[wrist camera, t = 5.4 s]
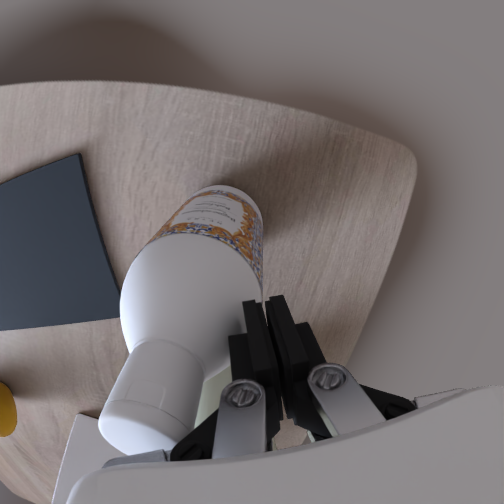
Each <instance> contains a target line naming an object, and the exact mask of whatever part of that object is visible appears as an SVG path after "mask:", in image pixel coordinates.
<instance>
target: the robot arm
mask: <svg viewBox="0 0 504 504" xmlns="http://www.w3.org/2000/svg"><path fill="white" fill-rule="evenodd" d="M269 300H270V301H265V308H266V316H267V323H266V319H265V315H264V311H263V308H262V304H261V302H258V303H256V301H255V299H254V300H248V301H242V306H243V312H244V318H245V324H246V330H247V333H243V334H236V335H230V336H228V342H229V353H230V364H231V374H232V382H231V383H229V384H228V385H226V386H225V388H224V389H223V390H222V393H221V396H220V403H219V408H218V409H217V410H215V411H214V412H213V413H212V414H211V415H210V416H209V417H208V418H206V419H205V420H204V421H203V422H202V423H201V424H200V425H198V426H197V427H196V428H195V429H194V430H193V431H191V432H190V433H189V434H188V435H187V436H186V437H184V438H183V439H182V440H181V441H180V442H178V443H177V444H176V445H175V446H174V447H173V449H172V450H168V451H165V450H164V449H160V450H155V451H150V452H145V453H140V454H135V455H129V456H123V457H117V458H113V459H110V460H108V461H107V462H106V463H105V464H104V465H103V467H102V469H100V470H96V471H94V472H91V473H89V474H87V475H85V476H83V477H82V478H80V479H79V480H78V481H77V482H76V483H75V485H74V487H73V488H72V490H71V492H70V495H69V497H68V500H67V503H66V504H504V387H502V386H484V387H477V388H472V389H469V390H466V389H462V388H460V389H453V390H449V391H444V392H440V393H435V394H430V395H425V396H420V397H415V398H414V400H413V401H409V400H408V399H405V398H403V397H400V396H396V395H393V394H389V393H386V392H383V391H379V390H376V389H373V388H370V387H367V386H364V385H361V384H358V383H357V381H356V380H355V379H354V377H353V376H352V375H351V374H350V372H349V371H348V370H347V369H346V368H345V367H344V366H342V365H340V364H336V363H327V362H326V360H325V358H324V356H323V354H322V351H321V349H320V347H319V345H318V343H317V340H316V338H315V336H314V334H313V332H312V330H311V327H310V325H309V324H308V322H304V323H299V324H295V323H294V321H293V318H292V316H291V313H290V311H289V308H288V306H287V303H286V301H285V298H284V296H283V295H278V296H272V297H269ZM267 325H268V326H267ZM281 396H282V399H281ZM282 400H283V404H284V407H285V411H286V415H287V418H288V419H291V418H293V421H294V425H298V426H300V427H302V428H304V429H307V433H308V436H309V438H310V440H311V442H312V443H309V444H305V445H300V446H295V447H291V448H285V449H280V450H275V451H273V441H272V438H273V437H274V436H275V435H276V434H277V432H278V431H279V430H280V421H281V420H283V410H282Z"/></svg>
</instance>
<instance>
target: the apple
mask: <svg viewBox="0 0 504 504" xmlns="http://www.w3.org/2000/svg"><path fill="white" fill-rule="evenodd" d="M16 425H17V411H16V405H15V402H14V398H13V396H12V393H11V391H10V390H9V388H8V387H7V386H6V385H4V384H3V383H1V382H0V437H6V436H8V435H10V434H12V433H13V431H14V430H15V427H16Z"/></svg>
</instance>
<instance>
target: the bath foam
mask: <svg viewBox="0 0 504 504" xmlns="http://www.w3.org/2000/svg"><path fill="white" fill-rule="evenodd" d="M262 292H263V221H262V216H261V213H260V211H259V209H258V207H257V205H256V204H255V202H254V201H253V200H252V199H251V198H250V197H249V196H248V195H247V194H246V193H244V192H243V191H241V190H239V189H237V188H234V187H231V186H225V185H215V186H209V187H206V188H203V189H201V190H199V191H198V192H196V193H195V194H193V195H192V196H191V197H190V198H189V199H188V200H187V201H186V202H185V203H184V204H183V205H182V206H181V207H180V208H179V209H178V210H177V211H176V212H175V213H174V215H173V216H172V217H171V218H170V219H169V220H168V221H167V222H166V223H165V224H164V225H163V226H162V228H161V229H160V230H159V231H158V232H157V233H156V234H155V235H154V236H153V237H152V239H151V240H150V241H149V242H148V243H147V244H146V245H145V246H144V248H143V249H142V250H141V251H140V252H139V253H138V255H137V256H136V257H135V259H134V261H133V263H132V265H131V266H130V268H129V270H128V273H127V275H126V278H125V280H124V283H123V287H122V291H121V298H120V318H121V325H122V330H123V334H124V337H125V341H126V344H127V347H128V350H129V353H130V355H129V357H128V359H127V361H126V362H125V364H124V366H123V368H122V370H121V372H120V374H119V376H118V378H117V380H116V382H115V384H114V387H113V389H112V391H111V393H110V395H109V397H108V399H107V401H106V403H105V406H104V408H103V410H102V412H101V414H100V417H99V421H98V427H99V430H100V432H101V434H102V436H103V437H104V438H105V439H106V440H107V441H108V442H109V443H110V444H111V445H112V446H114V447H115V448H116V449H118V450H120V451H121V452H123V453H125V454H127V455H135V454H140V453H145V452H150V451H155V450H160V449H164V450H165V451H168V450H172V449H173V447H174V446H175V445H176V444H177V443H178V442H180V441H181V440H182V439H183V438H184V437H186V436H187V435H188V434H189V433H190V432H191V431H193V430H194V427H195V422H196V417H197V412H198V408H199V403H200V398H201V393H202V387H203V383H204V382H206V381H207V380H209V379H210V378H212V377H214V376H215V375H217V374H218V373H220V372H221V371H223V370H224V369H226V368H227V367H228V366H229V365H231V364H230V353H229V342H228V336H230V335H236V334H243V333H247V330H246V324H245V318H244V312H243V306H242V301H248V300H254V299H255V301H256V303H258V302H261V304H262Z"/></svg>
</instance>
